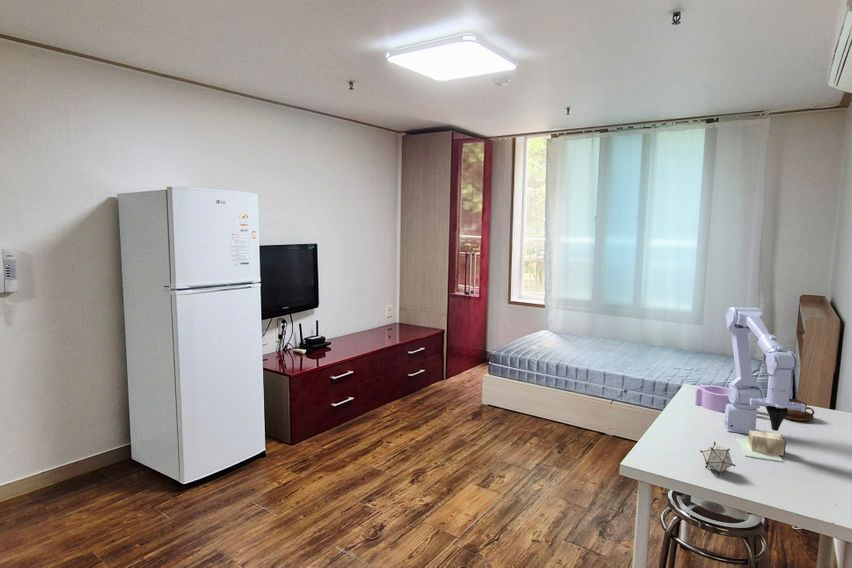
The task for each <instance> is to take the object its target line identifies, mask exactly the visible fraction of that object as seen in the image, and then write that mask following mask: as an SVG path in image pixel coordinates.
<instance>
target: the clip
mask: <svg viewBox="0 0 852 568" xmlns="http://www.w3.org/2000/svg"><path fill="white" fill-rule="evenodd" d="M728 391H729V387H725V386H720V385H711V384H709V385H704V384H701V383H700V384H699V388H698V387H696V388H695V395H694V397H695V398H694V400H695V401H694V405H695V406H700V407H702V408H704V409H706V410H710V411H714V412H719V413H725V408H726V404H732V403H731V402H730V401H729V398H728Z"/></svg>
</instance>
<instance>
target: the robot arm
mask: <svg viewBox="0 0 852 568" xmlns="http://www.w3.org/2000/svg"><path fill="white" fill-rule="evenodd" d="M763 320H764V313H763V311H762V310H761V309H760V308H759V307H734V306H730V307H729V308H728V309H727V311H726V313H725V321H726V322H725V323H726V327H727V331H729V332H730V335H731V342H732V343H731V344H732V352H733V358H734V359H733V361H734V370H735V377H736V378H735V379H733V380H732V381H730V382H729V384H728V388H729V391H728V398H729V401H730V402H731V403H732V404H726V408H725V412H724V422H723V424H724V426H725V428H726V430H727V432H730V433H738V434H745V435H749V430H752V431H758V430H757V429H756V428H757V427H756V426H757V418H758V417H757V415H758V409H760V407H765V410H766V411H767V414H768V417H769V420H770V426H771V429H772V431H775V432H778V431H779V429H780V426H781V424H782V423H783V421H784V420H785V419H786V418H785V417H786V416H787V415H788V411H787V409H790V410H798V411H801V412H805V408H806V406H805V405H804V404H799V403H794V402H789V399H790V390H791V382H792V381H791V380H792V379H791V377H792V371H794V370H795V369H796V368H797V365H798V360H797V356H796V354H795V352H793V351H791V350H788V349H786V348H785V347H784V346H783V343H781V342H780V340H779V339H778V338H777V336H776V335H774V334H771V333H770V331H769V330H768V329H767V327H766V325H765V322H764V321H763ZM751 332H752V333H753V334H754V335H755V336H756V337H757V339H758V341H757V345H758V346H759V348H760V350H761V351H762V352H763V354H764V356H765V364H766V371H767V374H768V377H767V378H768V380H767V388H766V389H767V392H766V398H765V393H764V391H763V388H762V384H761V383H760V382H759V381H757V380H756V379H754V376H753V375H754V374H753V367H752V358H751V351H750V342H749V334H750V333H751Z"/></svg>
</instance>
